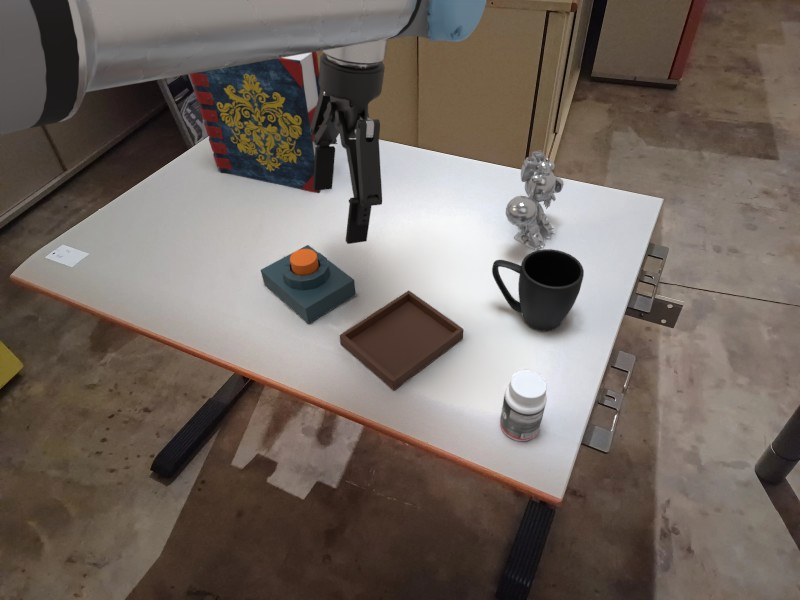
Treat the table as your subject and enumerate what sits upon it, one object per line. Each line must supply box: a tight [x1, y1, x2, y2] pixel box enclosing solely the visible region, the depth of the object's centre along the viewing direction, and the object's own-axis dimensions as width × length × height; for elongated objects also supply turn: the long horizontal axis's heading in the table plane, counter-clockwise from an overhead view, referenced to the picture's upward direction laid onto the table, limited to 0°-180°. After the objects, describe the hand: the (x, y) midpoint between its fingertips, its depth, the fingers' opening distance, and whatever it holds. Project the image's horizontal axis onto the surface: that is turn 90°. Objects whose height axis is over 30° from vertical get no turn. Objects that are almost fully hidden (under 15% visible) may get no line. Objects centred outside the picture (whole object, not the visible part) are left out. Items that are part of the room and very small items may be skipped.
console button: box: [290, 248, 319, 276], centre depth 82 cm, size 4×4×2 cm
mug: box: [491, 248, 585, 332], centre depth 77 cm, size 8×12×10 cm
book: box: [189, 52, 321, 194], centre depth 103 cm, size 25×7×25 cm, turn 67°
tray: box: [338, 290, 465, 392], centre depth 77 cm, size 13×11×2 cm
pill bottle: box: [499, 369, 548, 442], centre depth 64 cm, size 5×5×8 cm
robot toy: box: [505, 149, 565, 251], centre depth 88 cm, size 15×6×15 cm, turn 144°
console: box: [260, 244, 357, 325], centre depth 84 cm, size 12×9×5 cm
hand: (338, 213), depth 77 cm, fingers open, 13 cm apart
